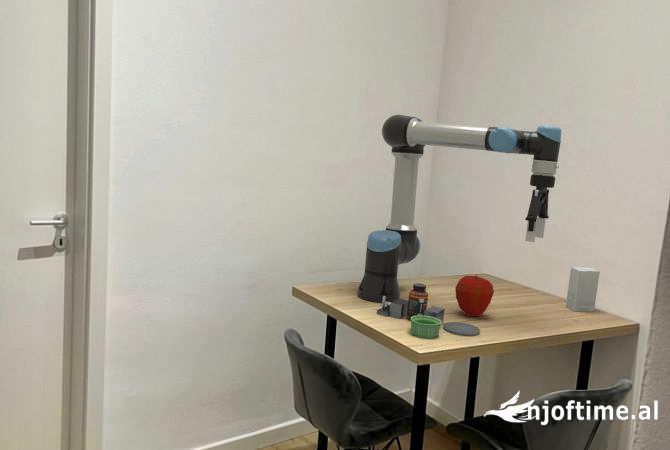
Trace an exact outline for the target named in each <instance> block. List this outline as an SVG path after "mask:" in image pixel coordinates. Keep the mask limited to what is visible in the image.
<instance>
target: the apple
mask: <svg viewBox="0 0 670 450" xmlns="http://www.w3.org/2000/svg"><path fill="white" fill-rule="evenodd" d="M494 293H495V290H494V285H493V284H492V283H491V282H490V280H488V279H487V278H484V277H481V276H478V275H477V274H475V275H465V276H462V277H461V278H460V279H459V280H458V281H457V283H456V286H455V298H456V302H457V305H458V307H459V309H460V310H461V312H463V313H464V314H465V315H467V316H470V317H479V316H481V315H482V314H484V313H485V312H486V310H487V308H488V307H489V305H490V304H491V302H492V299H493V295H494Z"/></svg>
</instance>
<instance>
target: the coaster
mask: <svg viewBox="0 0 670 450" xmlns="http://www.w3.org/2000/svg"><path fill="white" fill-rule="evenodd" d="M442 325H443V326H442V329H443V330H444V331H445V332H447V333H450V334H451V335H457V336H461V337H475V336H479V335H480V333H481V329H480V328H479V327H478V326H476V325H473V324H470V323H467V322H460V321H447V322H445V323H443V324H442Z"/></svg>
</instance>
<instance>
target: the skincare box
mask: <svg viewBox="0 0 670 450" xmlns="http://www.w3.org/2000/svg"><path fill="white" fill-rule="evenodd" d="M600 273H601V271H600V270H599V269H596V268H593V267H591V266H589V267H587V266H585V267H584V266H582V267H581V266H571V267H570V271H569V280H568V285H567V286H568V288H567V295H566V301H565V308H567V309H569V310H570V311H573V312H575V313H576V312H580V313H581V312H582V313H583V312H584V313H585V312H586V313H587V312H588V313H594V312H595V308H596V300H597V293H598V287H599V279H600Z"/></svg>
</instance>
